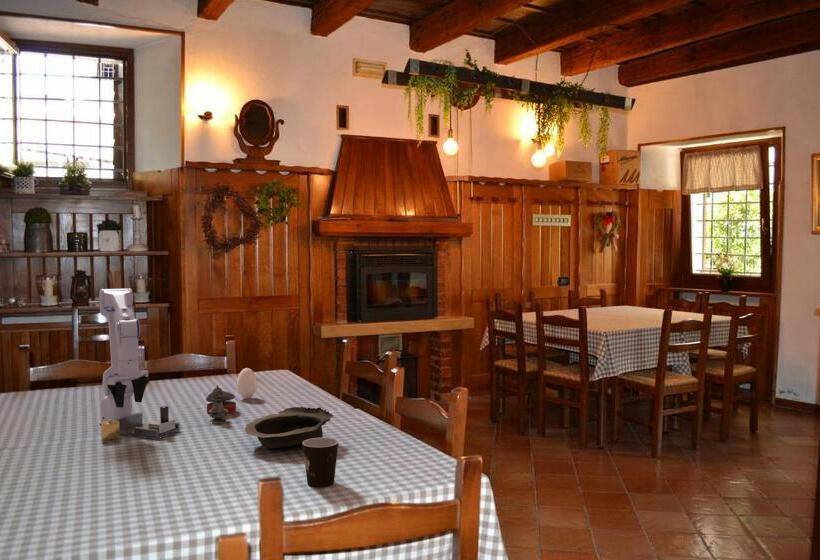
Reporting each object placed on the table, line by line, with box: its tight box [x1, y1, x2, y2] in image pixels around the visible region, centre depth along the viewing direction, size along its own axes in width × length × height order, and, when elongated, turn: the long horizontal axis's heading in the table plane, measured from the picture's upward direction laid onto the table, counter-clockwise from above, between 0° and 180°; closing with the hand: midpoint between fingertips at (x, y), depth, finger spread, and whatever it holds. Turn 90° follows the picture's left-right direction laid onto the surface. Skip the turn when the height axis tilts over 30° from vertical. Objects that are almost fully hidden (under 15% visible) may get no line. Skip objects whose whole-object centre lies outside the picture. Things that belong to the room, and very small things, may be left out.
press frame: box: [115, 412, 181, 440], centre depth 217 cm, size 16×10×4 cm, turn 68°
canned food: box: [205, 390, 237, 416], centre depth 244 cm, size 11×10×10 cm
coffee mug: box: [301, 437, 339, 489], centre depth 168 cm, size 12×9×10 cm
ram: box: [148, 405, 176, 434], centre depth 215 cm, size 4×7×7 cm, turn 158°
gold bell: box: [100, 419, 121, 442], centre depth 210 cm, size 5×5×6 cm
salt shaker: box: [209, 384, 227, 424], centre depth 231 cm, size 6×6×12 cm
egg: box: [236, 367, 258, 400], centre depth 266 cm, size 7×7×12 cm
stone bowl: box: [244, 406, 334, 450], centre depth 203 cm, size 25×25×9 cm
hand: (129, 404), depth 212 cm, fingers open, 7 cm apart
